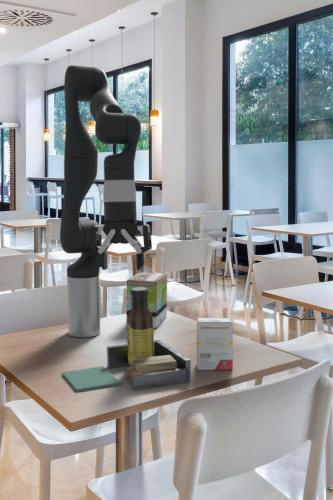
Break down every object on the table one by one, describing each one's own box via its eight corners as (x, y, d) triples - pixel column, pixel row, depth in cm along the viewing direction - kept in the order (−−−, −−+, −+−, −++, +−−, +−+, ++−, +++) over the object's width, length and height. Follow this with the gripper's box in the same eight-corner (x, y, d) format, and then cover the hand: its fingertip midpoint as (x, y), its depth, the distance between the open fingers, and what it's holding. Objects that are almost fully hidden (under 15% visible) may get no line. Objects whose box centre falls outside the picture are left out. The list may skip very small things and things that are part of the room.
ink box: (231, 363, 147) (231, 316, 146) (232, 370, 142) (233, 322, 141) (196, 363, 147) (196, 316, 146) (196, 370, 143) (197, 321, 141)
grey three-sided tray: (107, 366, 145) (106, 346, 145) (158, 359, 151) (158, 339, 150) (133, 390, 129) (133, 368, 129) (190, 381, 135) (190, 359, 134)
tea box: (157, 329, 180) (157, 280, 178) (125, 327, 182) (124, 279, 180) (167, 317, 194) (167, 272, 192) (137, 315, 196) (137, 271, 194)
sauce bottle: (136, 364, 147) (135, 284, 144) (158, 367, 144) (158, 286, 142) (122, 371, 141) (121, 289, 139) (146, 375, 139) (145, 291, 136)
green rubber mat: (62, 374, 140) (62, 372, 139) (103, 368, 144) (103, 366, 144) (76, 391, 129) (76, 389, 129) (120, 384, 133) (120, 382, 133)
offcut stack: (125, 378, 137) (125, 359, 136) (169, 372, 141) (169, 353, 141) (135, 387, 131) (135, 367, 130) (180, 380, 136) (180, 361, 135)
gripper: (153, 199, 141) (155, 267, 142) (96, 200, 144) (98, 267, 145) (144, 199, 133) (146, 271, 135) (85, 200, 137) (87, 271, 138)
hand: (121, 269), depth 140 cm, fingers open, 8 cm apart
